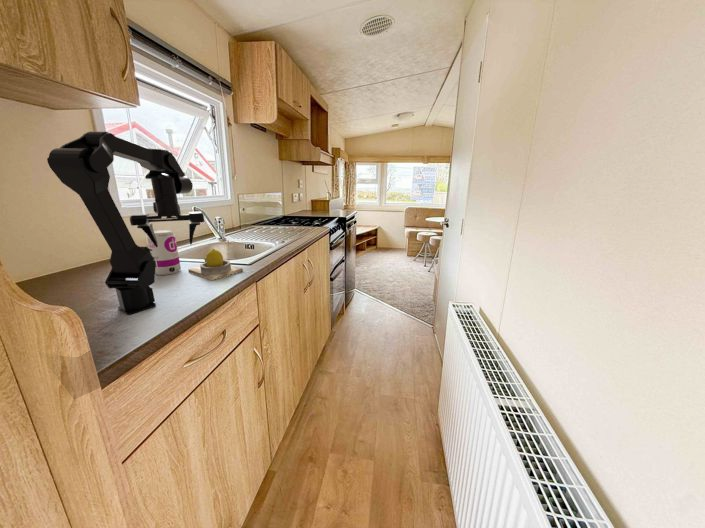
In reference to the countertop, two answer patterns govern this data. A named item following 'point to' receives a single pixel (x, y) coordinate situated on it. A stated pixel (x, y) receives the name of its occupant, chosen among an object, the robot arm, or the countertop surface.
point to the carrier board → (198, 272)
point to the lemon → (214, 258)
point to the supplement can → (165, 252)
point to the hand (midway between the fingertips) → (174, 245)
